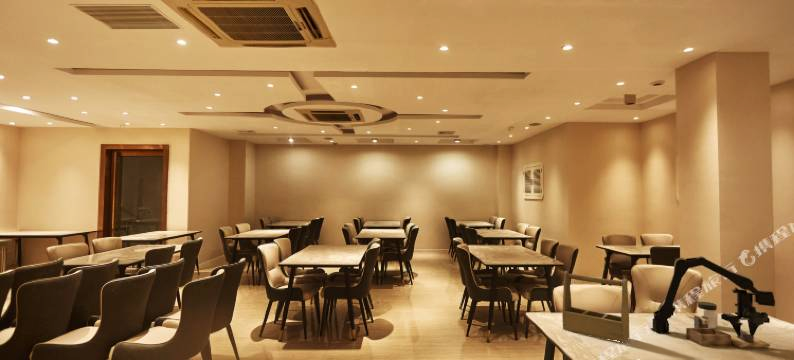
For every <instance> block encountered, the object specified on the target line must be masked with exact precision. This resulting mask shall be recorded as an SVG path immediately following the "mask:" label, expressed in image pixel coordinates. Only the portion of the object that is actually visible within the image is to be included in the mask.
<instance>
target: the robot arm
mask: <svg viewBox="0 0 794 360" xmlns="http://www.w3.org/2000/svg"><path fill="white" fill-rule="evenodd" d="M702 266H703V267H704V268H706V269H709V270H710V271H712V272H714V273H715V274H718V275H719V276H722V277H724V278H726V279H728V280H729V281H730V282H732V283H733V284H735V287H734V288H733V289H731V292H732V293H733V294H736V303H734V306H735V307H736V311H734V314H732V313H730V312H729V313H727V312H726V313H725V312H724V313H722V314H720V316H721V318H720V319H721V320H723V321H727V322H728V323H730V324H731V327H732V328H733V330H734V332H735V333H736V335H738V336H740V334H741V332H742V331H741V330H742V329H741V327H742V325H743V324H744V323H743V322H741V321H747V324H748V330H749V334H750V335H752V336H754V337H755V335H756V332H757V329H758V328H759V327H760V326H762V325H764V324H769V323H771V321H770V320H771V319H770V318H769V315H768V313H767V312H766V311H765V312H764V311H763V312H760V311H759V312H758V311H757V308H756V306H754V303H756V304H757V305H758V306H765V307H766V306H767V307H775V306H776V299H775V296H774V291H771V290H758V289H757V288H756V287H755V285H754V281H753V280H752V279H750V277H748V276H746V275H743V274H740V273H737V272H734V271H731V270H729V269H727V268H725V267H723V266H721V265H719V264H717V263H715V262H712V261H711V260H709V259H707V258H706V257H704V256H697V257H689V258H688V257H687V258H684V257H678V258H675V260H674V265H673V275H672V277H671V280H670V282H669V285H668V288H667V291H666V294H665V297H664V299H663V300H662V301H661V302H660V304H659V306H658V309H657V310H655V311H654V312H653V318H652V327H651V328H650V330H651V329H652V330H651V331H652V332H655V333H656V334H671V332H670V323H669V319H671V318H672V316H674V313H675V311H676V309H677V308H676V305H674V301H675V298H676V296H677V294H678V291H679V287H680V284H681V282H682V279H683V277H684V276H685V275H686V273H687V272H688V271H689V269H693V268H696V267H702ZM736 286H737V287H736ZM738 287H739V288H740V289H739V288H738Z"/></svg>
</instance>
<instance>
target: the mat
mask: <svg viewBox="0 0 794 360" xmlns="http://www.w3.org/2000/svg"><path fill="white" fill-rule="evenodd" d="M731 346H734V347H736V348H738V349H740V350H770V348H769V347H764V348H761V347H738V346H736V345H734V344H732V343H731Z"/></svg>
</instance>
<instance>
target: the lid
mask: <svg viewBox="0 0 794 360" xmlns="http://www.w3.org/2000/svg"><path fill="white" fill-rule="evenodd" d="M736 335H737V334H736ZM736 335H735V336H733V335H731V343H732V344H734V345H736V346H738V347H761V348H764V347H766V348H769V347H771V344H770V343H768V342H766V341H763V340H760V339H758V338H755V335H754V336H752V335H750V333H748V332H744V331H741V334H740V336H738V335H737V336H736ZM738 347H737V348H738Z"/></svg>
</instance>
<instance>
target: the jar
mask: <svg viewBox="0 0 794 360" xmlns="http://www.w3.org/2000/svg"><path fill="white" fill-rule="evenodd" d="M696 315H697V316H700V317H702V316H705V317H707V318H708V320H709V324H708V328H715V329H717V328H718V324H719V322H718V315H719V314H718V307H717V304H716V303H714V302H710V301H698V302H697V307H696Z"/></svg>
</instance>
